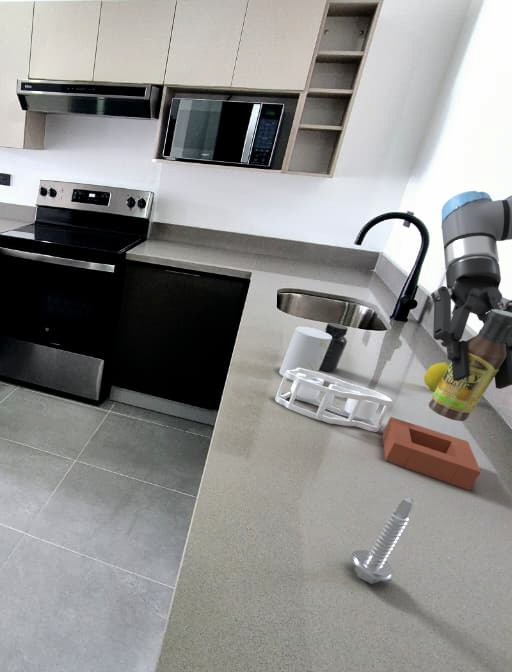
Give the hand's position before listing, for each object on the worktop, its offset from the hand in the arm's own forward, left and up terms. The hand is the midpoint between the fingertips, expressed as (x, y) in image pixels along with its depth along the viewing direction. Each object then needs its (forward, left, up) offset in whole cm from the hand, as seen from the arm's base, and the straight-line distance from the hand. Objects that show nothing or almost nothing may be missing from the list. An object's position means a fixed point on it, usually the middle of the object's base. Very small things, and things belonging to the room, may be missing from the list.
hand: (483, 381), depth 85 cm
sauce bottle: (+1, -3, -9) cm, 9 cm away
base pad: (+1, -3, -19) cm, 19 cm away
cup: (+26, -28, -19) cm, 43 cm away
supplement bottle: (+21, -42, -19) cm, 51 cm away
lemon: (-5, -50, -19) cm, 54 cm away
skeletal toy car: (+19, -10, -19) cm, 28 cm away
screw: (+11, +41, -19) cm, 46 cm away
